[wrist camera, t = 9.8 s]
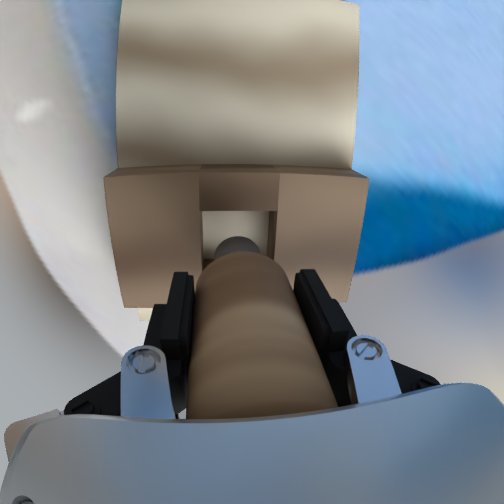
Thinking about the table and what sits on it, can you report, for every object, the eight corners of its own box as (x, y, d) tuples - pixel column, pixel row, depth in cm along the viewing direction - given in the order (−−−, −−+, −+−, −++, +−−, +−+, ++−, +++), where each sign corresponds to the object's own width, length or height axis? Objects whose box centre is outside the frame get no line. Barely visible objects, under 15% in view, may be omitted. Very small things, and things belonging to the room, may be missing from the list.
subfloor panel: (128, 1, 12) (110, -19, 9) (351, 9, 14) (377, -7, 11) (142, 310, 22) (133, 343, 19) (323, 306, 24) (337, 336, 20)
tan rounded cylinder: (197, 221, 15) (173, 403, 5) (278, 220, 15) (363, 388, 6) (200, 291, 17) (194, 475, 7) (273, 289, 17) (325, 463, 8)
